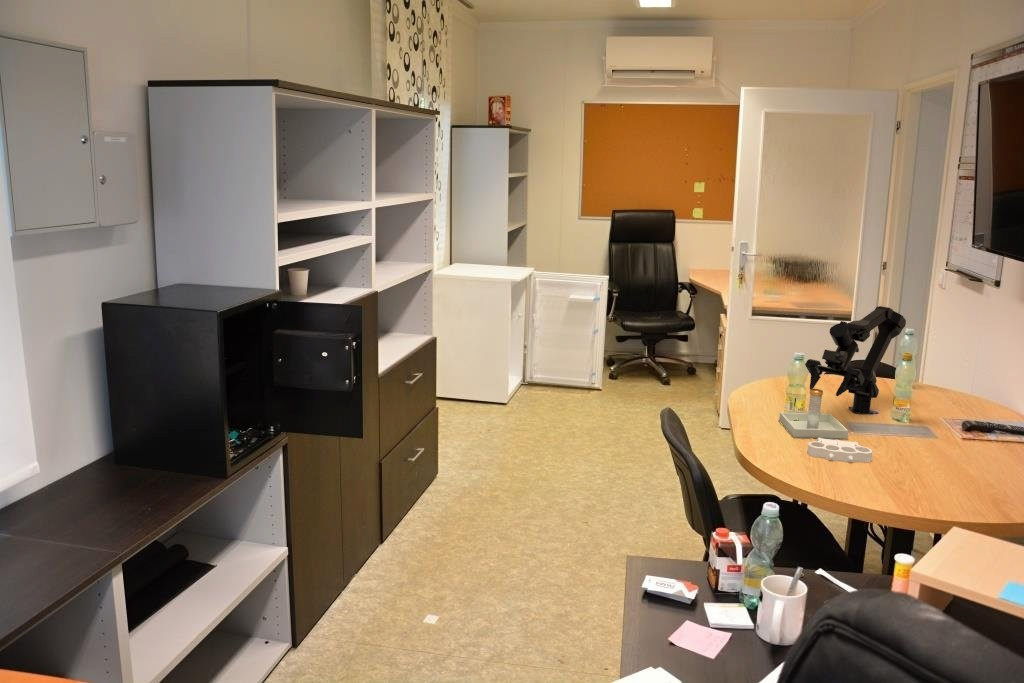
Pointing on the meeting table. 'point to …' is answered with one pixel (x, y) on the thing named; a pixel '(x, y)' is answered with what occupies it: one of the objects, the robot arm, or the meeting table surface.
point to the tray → (826, 429)
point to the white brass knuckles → (839, 450)
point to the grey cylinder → (814, 408)
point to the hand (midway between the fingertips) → (823, 392)
